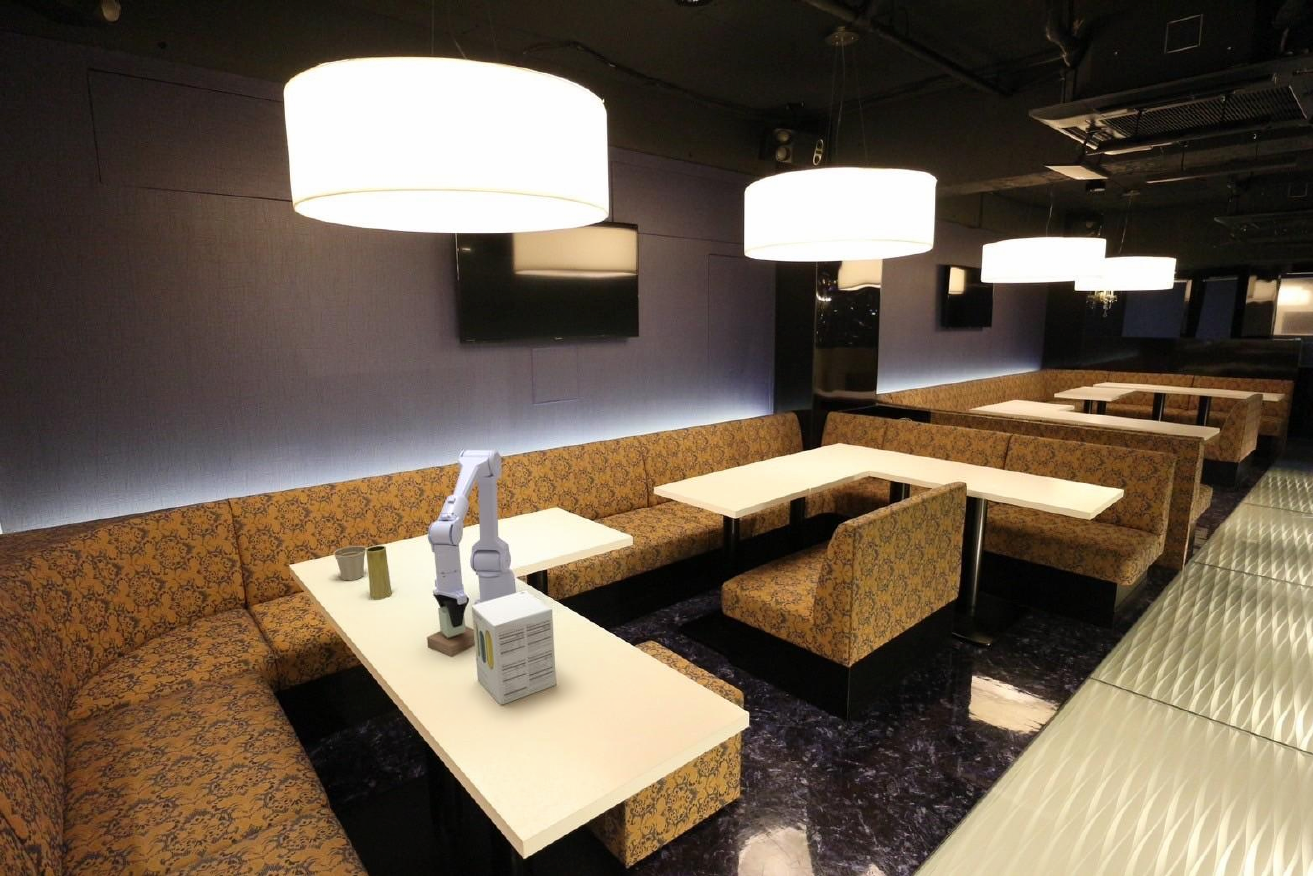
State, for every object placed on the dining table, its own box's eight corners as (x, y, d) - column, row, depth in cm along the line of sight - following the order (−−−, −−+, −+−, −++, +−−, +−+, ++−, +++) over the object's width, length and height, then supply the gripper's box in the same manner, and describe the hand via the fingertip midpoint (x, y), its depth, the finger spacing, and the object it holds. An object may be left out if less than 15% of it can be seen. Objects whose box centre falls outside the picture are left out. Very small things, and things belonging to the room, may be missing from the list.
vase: (384, 600, 190) (379, 552, 188) (365, 599, 192) (359, 551, 189) (396, 591, 196) (391, 545, 194) (377, 590, 197) (372, 544, 195)
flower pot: (375, 575, 210) (372, 548, 209) (348, 585, 202) (345, 558, 201) (357, 569, 215) (354, 544, 214) (330, 579, 207) (326, 553, 206)
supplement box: (475, 679, 146) (469, 604, 143) (531, 660, 154) (526, 589, 151) (499, 706, 136) (493, 626, 133) (558, 685, 143) (553, 608, 140)
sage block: (458, 625, 165) (455, 602, 164) (465, 631, 162) (463, 608, 161) (440, 631, 162) (438, 608, 161) (447, 637, 159) (445, 614, 158)
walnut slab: (458, 634, 169) (457, 623, 168) (481, 643, 164) (481, 631, 163) (428, 648, 162) (426, 637, 161) (451, 658, 157) (450, 646, 156)
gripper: (420, 565, 162) (425, 618, 165) (444, 582, 151) (449, 638, 154) (448, 558, 167) (453, 609, 169) (473, 574, 156) (477, 628, 158)
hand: (453, 622), depth 162 cm, fingers closed on sage block, 4 cm apart
